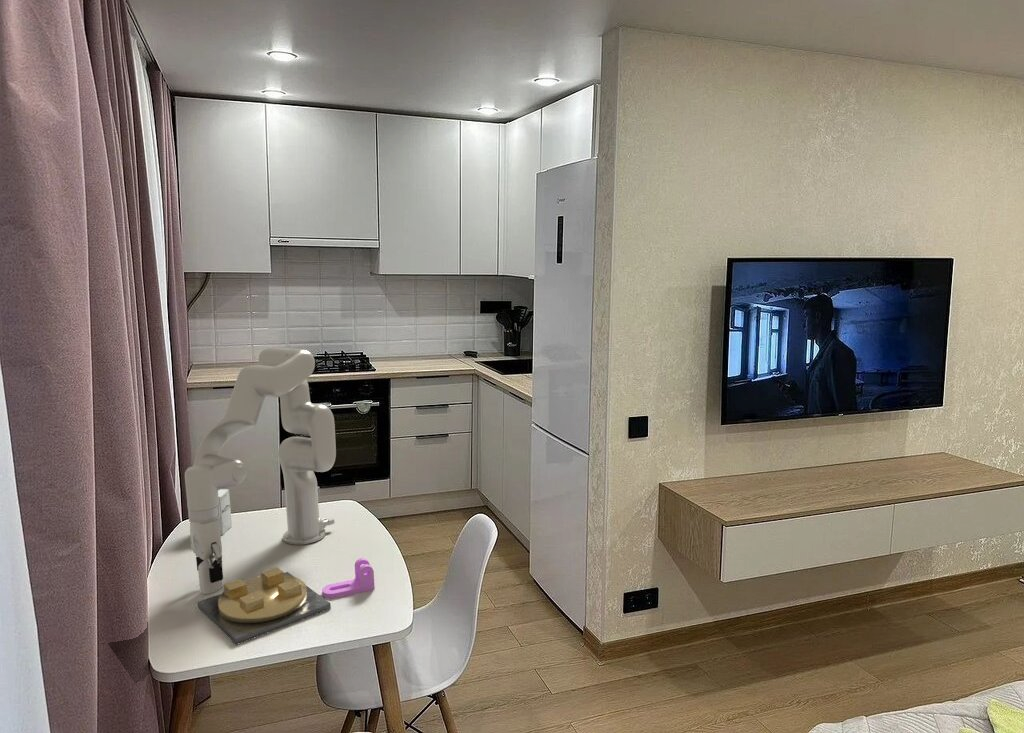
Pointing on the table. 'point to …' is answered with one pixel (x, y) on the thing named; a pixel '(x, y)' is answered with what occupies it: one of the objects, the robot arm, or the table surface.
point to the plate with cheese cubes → (262, 597)
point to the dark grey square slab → (251, 630)
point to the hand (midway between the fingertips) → (210, 575)
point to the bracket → (353, 582)
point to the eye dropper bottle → (207, 578)
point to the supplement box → (224, 511)
